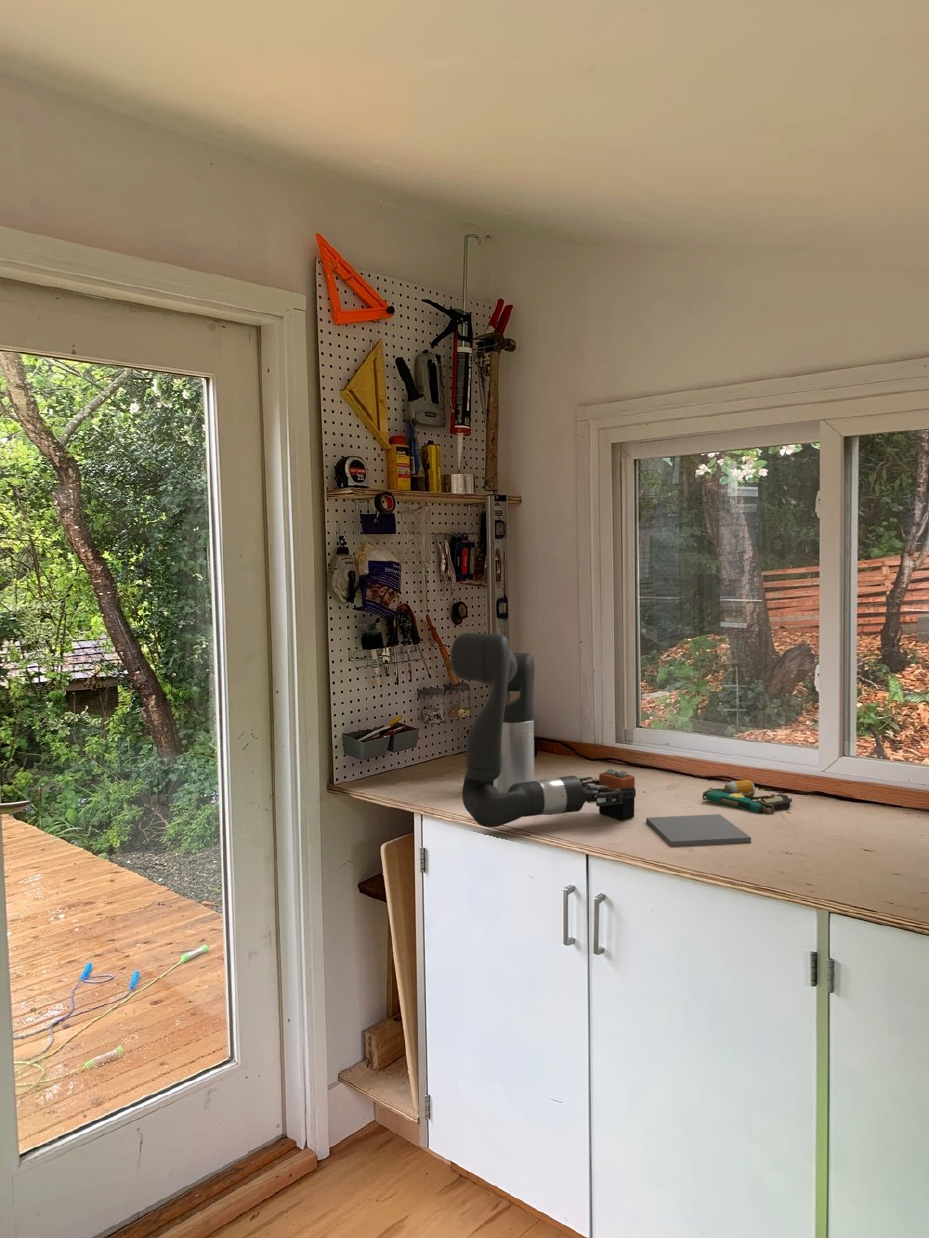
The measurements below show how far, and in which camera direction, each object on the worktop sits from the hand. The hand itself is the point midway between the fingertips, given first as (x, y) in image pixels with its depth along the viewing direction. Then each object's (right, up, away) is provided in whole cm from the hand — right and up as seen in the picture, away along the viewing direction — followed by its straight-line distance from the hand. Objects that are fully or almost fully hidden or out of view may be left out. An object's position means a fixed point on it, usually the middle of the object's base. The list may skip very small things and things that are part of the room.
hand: (624, 787), depth 198 cm
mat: (+13, -7, -12) cm, 19 cm away
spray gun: (+29, -6, +8) cm, 31 cm away
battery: (-2, -6, 0) cm, 7 cm away
